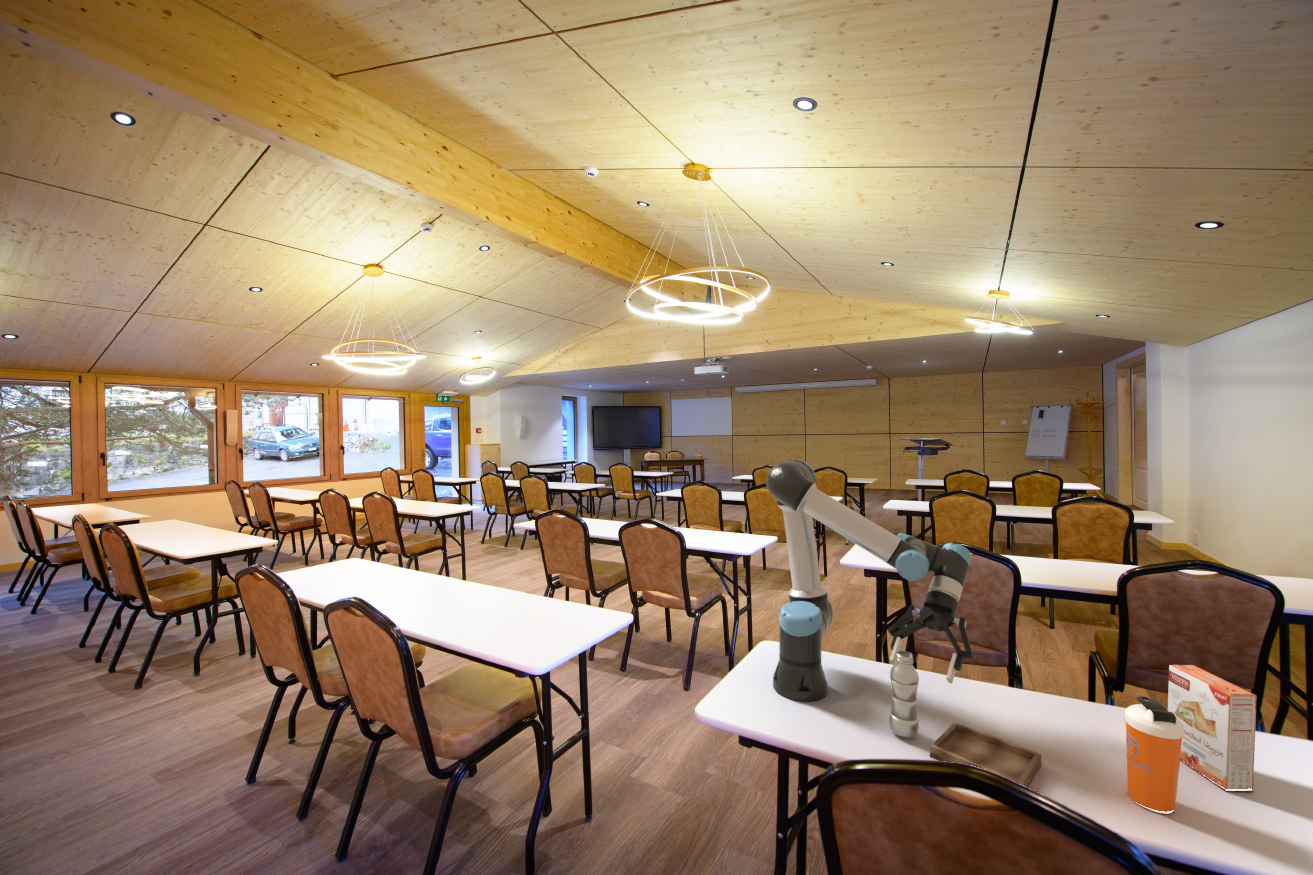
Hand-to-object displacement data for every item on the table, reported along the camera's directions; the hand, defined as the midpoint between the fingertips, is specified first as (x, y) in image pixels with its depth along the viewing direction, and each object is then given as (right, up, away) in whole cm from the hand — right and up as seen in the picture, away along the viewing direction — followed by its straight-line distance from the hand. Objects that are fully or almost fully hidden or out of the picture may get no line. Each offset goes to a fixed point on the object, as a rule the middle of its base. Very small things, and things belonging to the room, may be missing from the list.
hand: (919, 671), depth 136 cm
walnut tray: (+9, -15, -12) cm, 21 cm away
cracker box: (+55, -15, -16) cm, 60 cm away
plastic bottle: (-5, -15, -2) cm, 16 cm away
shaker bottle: (+34, -16, -26) cm, 46 cm away
